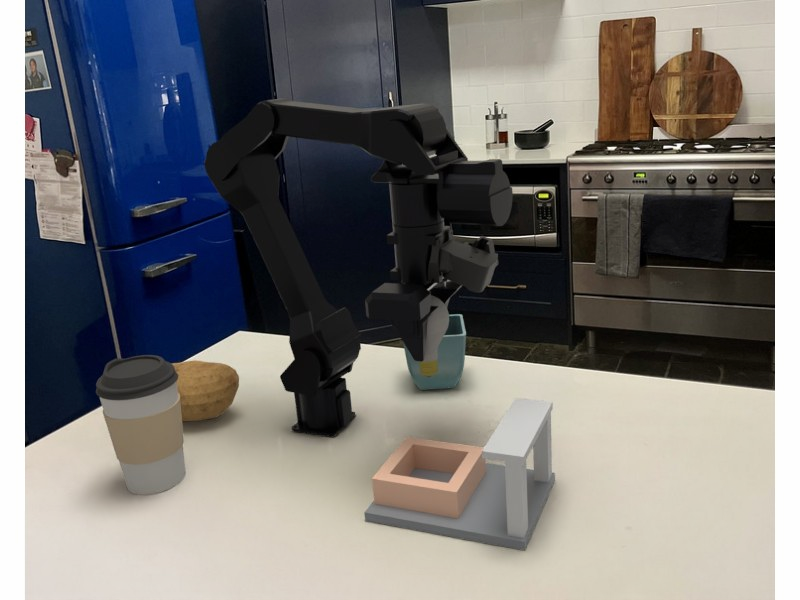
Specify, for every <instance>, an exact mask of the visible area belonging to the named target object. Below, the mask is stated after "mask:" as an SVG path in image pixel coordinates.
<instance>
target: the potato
mask: <svg viewBox="0 0 800 600" xmlns="http://www.w3.org/2000/svg"><path fill="white" fill-rule="evenodd" d="M170 363H171V362H170ZM171 364H172V365H174V367H175V371H176V372H177V374H178V379H177V388H178V393H179V394H180V403H181V414H182V422H200V421H204V420H209V419H214V418H217V417H219V416H220V415H222V414H224V413H225V412H226V411H227V410H228V409H229V407H230V406H232V404H233V401H234V400H235V397H236V395H237V392H238V390H239V388H240V376H239V374H238V372H237V370H236V369H235V368H233V367H231V366H230V365H228V364H225V363H221V362H211V361H209V362H208V361H202V360H195V359H194V360H187V361H183V362H182V361H181V362H173V363H171Z"/></svg>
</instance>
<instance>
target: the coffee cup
mask: <svg viewBox="0 0 800 600" xmlns="http://www.w3.org/2000/svg"><path fill="white" fill-rule="evenodd" d="M177 379H178V374H177V372H176V371H175V367H174V365H172V364H171V362H170V361H166V360H165V359H164V358H163V357H162V356H159V355H154V354H143V355H136V356H131V357H127V358H118V357H117V358H114V359H112V360H110V361H108V362H107V363H106V364H105V366H104V370H103V373H102V375H101V376H100V377H99V378H98V379H97V381H96V384H95V386H96V390H95V394H96V396H98V398H99V400H100V404H101V407H102V415H103V419H104V421H105V424H106V428H107V431H108V433H109V438H110V441H111V444H112V446H113V450H114V454H115V456H116V459H117V460H118V462H119V466H120V469H121V472H122V475H123V478H124V482H125V485H126V489H127V490H128V491H129V492H130V493H132V494H134V495H138V496H140V495H141V496H148V495H155V494H160V493H163V492H165V491H166V492H167V491H168V490H170V489H172V488H174V487H176V486H177V485H179V484H180V483H181V482H182V481H183V480H184V479H185V477H186V463H185V455H184V454H185V452H184V442H185V440H184V426H183V421H182V414H181V403H180V394H179V393H178V388H177Z"/></svg>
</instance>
